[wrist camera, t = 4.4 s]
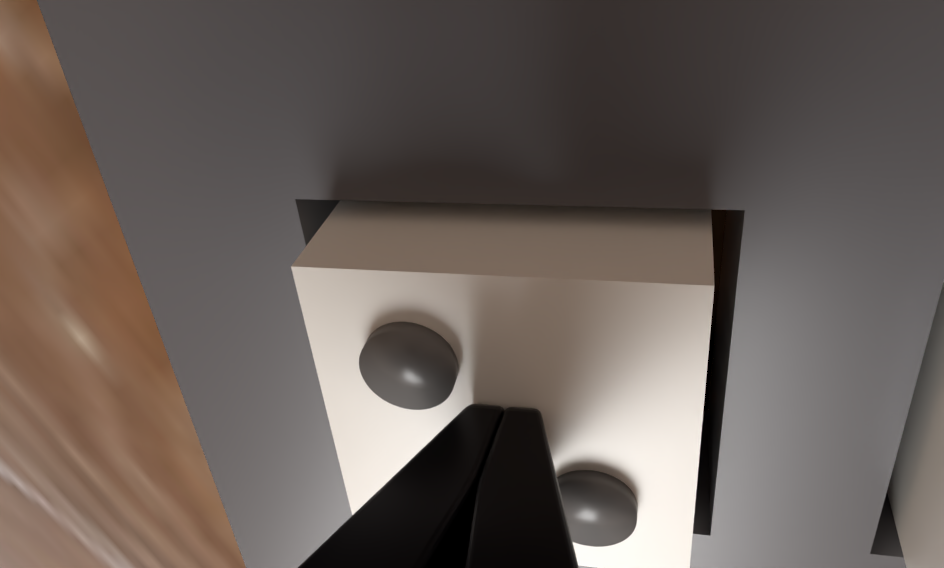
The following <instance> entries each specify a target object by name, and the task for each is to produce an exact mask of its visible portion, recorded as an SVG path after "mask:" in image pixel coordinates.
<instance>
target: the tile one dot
mask: <svg viewBox="0 0 944 568" xmlns="http://www.w3.org/2000/svg"><path fill="white" fill-rule="evenodd" d="M887 494H888V497H889V501H890V505H891V509H892V513H893V517H894V521H895V525H896V529H897V532H898V536H899V540H900V544H901V548H902V552H903V556H904V560H905V564H906V568H944V282H943V285H942V289H941V293H940V297H939V300H938V304H937V308H936V311H935V315H934V319H933V322H932V326H931V330H930V334H929V337H928V341H927V345H926V348H925V352H924V356H923V360H922V363H921V367H920V371H919V374H918V378H917V382H916V385H915V389H914V393H913V397H912V400H911V404H910V408H909V411H908V415H907V419H906V422H905V426H904V430H903V434H902V437H901V441H900V445H899V448H898V452H897V456H896V460H895V463H894V467H893V471H892V474H891V478H890V482H889V485H888V489H887Z"/></svg>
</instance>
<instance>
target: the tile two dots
mask: <svg viewBox="0 0 944 568" xmlns="http://www.w3.org/2000/svg"><path fill="white" fill-rule="evenodd" d="M291 269H292V273H293V277H294V281H295V285H296V289H297V293H298V297H299V301H300V305H301V309H302V313H303V317H304V321H305V326H306V330H307V334H308V338H309V342H310V346H311V350H312V354H313V358H314V362H315V366H316V370H317V374H318V378H319V382H320V386H321V391H322V395H323V399H324V403H325V407H326V411H327V415H328V419H329V423H330V427H331V431H332V435H333V439H334V443H335V447H336V451H337V455H338V460H339V464H340V468H341V472H342V476H343V480H344V484H345V488H346V492H347V496H348V500H349V504H350V508H351V512H352V515H353V514H354V513H355V512H357V511H358V510H359V509H360V508H361V507H362V506H363V505H364V504H365V503H366V502H367V501H368V500H369V499H370V498H371V497H372V496H373V495H374V494H375V493H376V492H377V491H378V490H380V489H381V488H382V487H383V486H384V485H385V484H386V483H387V482H388V481H389V480H390V479H391V478H392V477H393V476H394V475H395V474H396V473H397V472H398V471H399V470H400V469H401V468H403V467H404V466H405V465H406V464H407V463H408V462H409V461H410V460H411V459H412V458H413V457H414V456H415V455H416V454H417V453H418V452H419V451H420V450H421V449H422V448H423V447H425V446H426V445H427V444H428V443H429V442H430V441H431V440H432V439H433V438H434V437H435V436H436V435H437V434H438V433H439V432H440V431H441V430H442V429H443V428H444V427H445V426H446V425H448V424H449V423H450V422H451V421H452V420H453V419H454V418H455V417H456V416H457V415H458V414H459V413H460V412H461V411H462V410H463V409H464V408H465V407H467V406H468V405H470V404H487V405H498V406H501V407H502V408H503V409H504V410H505V409H506V408H508V407H523V408H535V409H538V410H539V411H540V412H541V414H542V418H543V422H544V426H545V430H546V434H547V438H548V442H549V447H550V451H551V455H552V459H553V463H554V467H555V471H556V475H557V480H558V484H559V488H560V492H561V496H562V500H563V504H564V509H565V513H566V517H567V521H568V525H569V529H570V533H571V537H572V542H573V546H574V550H575V554H576V558H577V562H578V565H579V566H587V567H595V568H690V558H691V547H692V535H693V524H694V513H695V501H696V490H697V479H698V467H699V456H700V445H701V433H702V422H703V410H704V399H705V388H706V376H707V365H708V354H709V342H710V331H711V320H712V308H713V297H714V262H713V238H712V214H711V209H671V208H631V207H591V206H551V205H511V204H471V203H430V202H390V201H350V200H340V201H339V203H338V204H337V205H336V207H335V208H334V210H333V211H332V212H331V214H330V215H329V216H328V218H327V219H326V220H325V222H324V223H323V224H322V226H321V227H320V228H319V230H318V231H317V232H316V234H315V235H314V236H313V238H312V239H311V240H310V242H309V243H308V244H307V246H306V247H305V248H304V250H303V251H302V252H301V254H300V255H299V256H298V258H297V259H296V260H295V262H294V263H293V264H292V266H291Z"/></svg>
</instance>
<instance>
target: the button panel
mask: <svg viewBox="0 0 944 568" xmlns="http://www.w3.org/2000/svg"><path fill="white" fill-rule="evenodd" d="M37 2H38V4H39V7H40V10H41V13H42V15H43V18H44V21H45V23H46V26H47V29H48V32H49V34H50V37H51V40H52V42H53V45H54V48H55V50H56V53H57V56H58V59H59V61H60V64H61V67H62V69H63V72H64V75H65V78H66V80H67V83H68V86H69V88H70V91H71V94H72V97H73V99H74V102H75V105H76V107H77V110H78V113H79V116H80V118H81V121H82V124H83V126H84V129H85V132H86V135H87V137H88V140H89V143H90V145H91V148H92V151H93V154H94V156H95V159H96V162H97V164H98V167H99V170H100V173H101V175H102V178H103V181H104V183H105V186H106V189H107V191H108V194H109V197H110V200H111V202H112V205H113V208H114V210H115V213H116V216H117V219H118V221H119V224H120V227H121V229H122V232H123V235H124V238H125V240H126V243H127V246H128V248H129V251H130V254H131V257H132V259H133V262H134V265H135V267H136V270H137V273H138V276H139V278H140V281H141V284H142V286H143V289H144V292H145V295H146V297H147V300H148V303H149V305H150V308H151V311H152V314H153V316H154V319H155V322H156V324H157V327H158V330H159V332H160V335H161V338H162V341H163V343H164V346H165V349H166V351H167V354H168V357H169V360H170V362H171V365H172V368H173V370H174V373H175V376H176V379H177V381H178V384H179V387H180V389H181V392H182V395H183V398H184V400H185V403H186V406H187V408H188V411H189V414H190V417H191V419H192V422H193V425H194V427H195V430H196V433H197V436H198V438H199V441H200V444H201V446H202V449H203V452H204V455H205V457H206V460H207V463H208V465H209V468H210V471H211V473H212V476H213V479H214V482H215V484H216V487H217V490H218V492H219V495H220V498H221V501H222V503H223V506H224V509H225V511H226V514H227V517H228V520H229V522H230V525H231V528H232V530H233V533H234V536H235V539H236V541H237V544H238V547H239V549H240V552H241V555H242V558H243V560H244V563H245V566H246V568H298V567H299V566H300V565H301V564H302V563H303V562H304V561H305V560H306V559H307V558H308V557H309V556H310V555H312V554H313V553H314V552H315V551H316V550H317V549H318V548H319V547H320V546H321V545H322V544H323V543H324V542H325V541H326V540H327V539H328V538H329V537H330V536H331V535H332V534H333V533H335V532H336V531H337V530H338V529H339V528H340V527H341V526H342V525H343V524H344V523H345V522H346V521H347V520H348V519H349V518H350V517H351V516H352V512H351V508H350V504H349V500H348V496H347V492H346V488H345V484H344V480H343V476H342V472H341V468H340V464H339V460H338V455H337V451H336V447H335V443H334V439H333V435H332V431H331V427H330V423H329V419H328V415H327V411H326V407H325V403H324V399H323V395H322V391H321V386H320V382H319V378H318V374H317V370H316V366H315V362H314V358H313V354H312V350H311V346H310V342H309V338H308V334H307V330H306V326H305V321H304V317H303V313H302V309H301V305H300V301H299V297H298V293H297V289H296V285H295V281H294V277H293V273H292V269H291V266H292V264H293V263H294V262H295V260H296V259H297V258H298V256H299V255H300V254H301V252H302V251H303V250H304V248H305V247H306V246H307V244H308V243H309V242H310V240H311V239H312V238H313V236H314V235H315V234H316V232H317V231H318V230H319V228H320V227H321V226H322V224H323V223H324V222H325V220H326V219H327V218H328V216H329V215H330V214H331V212H332V211H333V210H334V208H335V207H336V205H337V204H338V203H339V201H340V200H350V201H390V202H430V203H471V204H511V205H551V206H591V207H631V208H671V209H711V210H726V215H725V226H724V237H723V248H722V259H721V270H720V281H719V291H718V302H717V313H716V324H715V335H714V346H713V357H712V368H711V379H710V390H709V401H708V411H703V422H702V433H701V445H700V456H699V467H698V479H697V490H696V501H695V513H694V524H693V535H692V547H691V558H690V568H906V564H905V560H904V556H903V552H902V548H901V544H900V540H899V536H898V532H897V529H896V525H895V521H894V517H893V513H892V509H891V505H890V501H889V497H888V494H887V489H888V485H889V482H890V478H891V474H892V471H893V467H894V463H895V460H896V456H897V452H898V448H899V445H900V441H901V437H902V434H903V430H904V426H905V422H906V419H907V415H908V411H909V408H910V404H911V400H912V397H913V393H914V389H915V385H916V382H917V378H918V374H919V371H920V367H921V363H922V360H923V356H924V352H925V348H926V345H927V341H928V337H929V334H930V330H931V326H932V322H933V319H934V315H935V311H936V308H937V304H938V300H939V297H940V293H941V289H942V285H943V282H944V0H37ZM578 566H579V565H578ZM579 568H595V567H587V566H579Z"/></svg>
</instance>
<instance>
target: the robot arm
mask: <svg viewBox="0 0 944 568" xmlns="http://www.w3.org/2000/svg"><path fill="white" fill-rule="evenodd" d="M298 568H579V566H578V562H577V558H576V554H575V550H574V546H573V542H572V537H571V533H570V529H569V525H568V521H567V517H566V513H565V509H564V504H563V500H562V496H561V492H560V488H559V484H558V480H557V475H556V471H555V467H554V463H553V459H552V455H551V451H550V447H549V442H548V438H547V434H546V430H545V426H544V422H543V418H542V414H541V412H540V411H539V410H538V409H535V408H523V407H508V408H506V409H505V410H504V409H503V408H502V407H501V406H498V405H487V404H470V405H468V406H467V407H465V408H464V409H463V410H462V411H461V412H460V413H459V414H458V415H457V416H456V417H455V418H454V419H453V420H452V421H451V422H450V423H449V424H448V425H446V426H445V427H444V428H443V429H442V430H441V431H440V432H439V433H438V434H437V435H436V436H435V437H434V438H433V439H432V440H431V441H430V442H429V443H428V444H427V445H426V446H425V447H423V448H422V449H421V450H420V451H419V452H418V453H417V454H416V455H415V456H414V457H413V458H412V459H411V460H410V461H409V462H408V463H407V464H406V465H405V466H404V467H403V468H401V469H400V470H399V471H398V472H397V473H396V474H395V475H394V476H393V477H392V478H391V479H390V480H389V481H388V482H387V483H386V484H385V485H384V486H383V487H382V488H381V489H380V490H378V491H377V492H376V493H375V494H374V495H373V496H372V497H371V498H370V499H369V500H368V501H367V502H366V503H365V504H364V505H363V506H362V507H361V508H360V509H359V510H358V511H357V512H355V513H354V514H353V515H352V516H351V517H350V518H349V519H348V520H347V521H346V522H345V523H344V524H343V525H342V526H341V527H340V528H339V529H338V530H337V531H336V532H335V533H333V534H332V535H331V536H330V537H329V538H328V539H327V540H326V541H325V542H324V543H323V544H322V545H321V546H320V547H319V548H318V549H317V550H316V551H315V552H314V553H313V554H312V555H310V556H309V557H308V558H307V559H306V560H305V561H304V562H303V563H302V564H301V565H300V566H299V567H298Z"/></svg>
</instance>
